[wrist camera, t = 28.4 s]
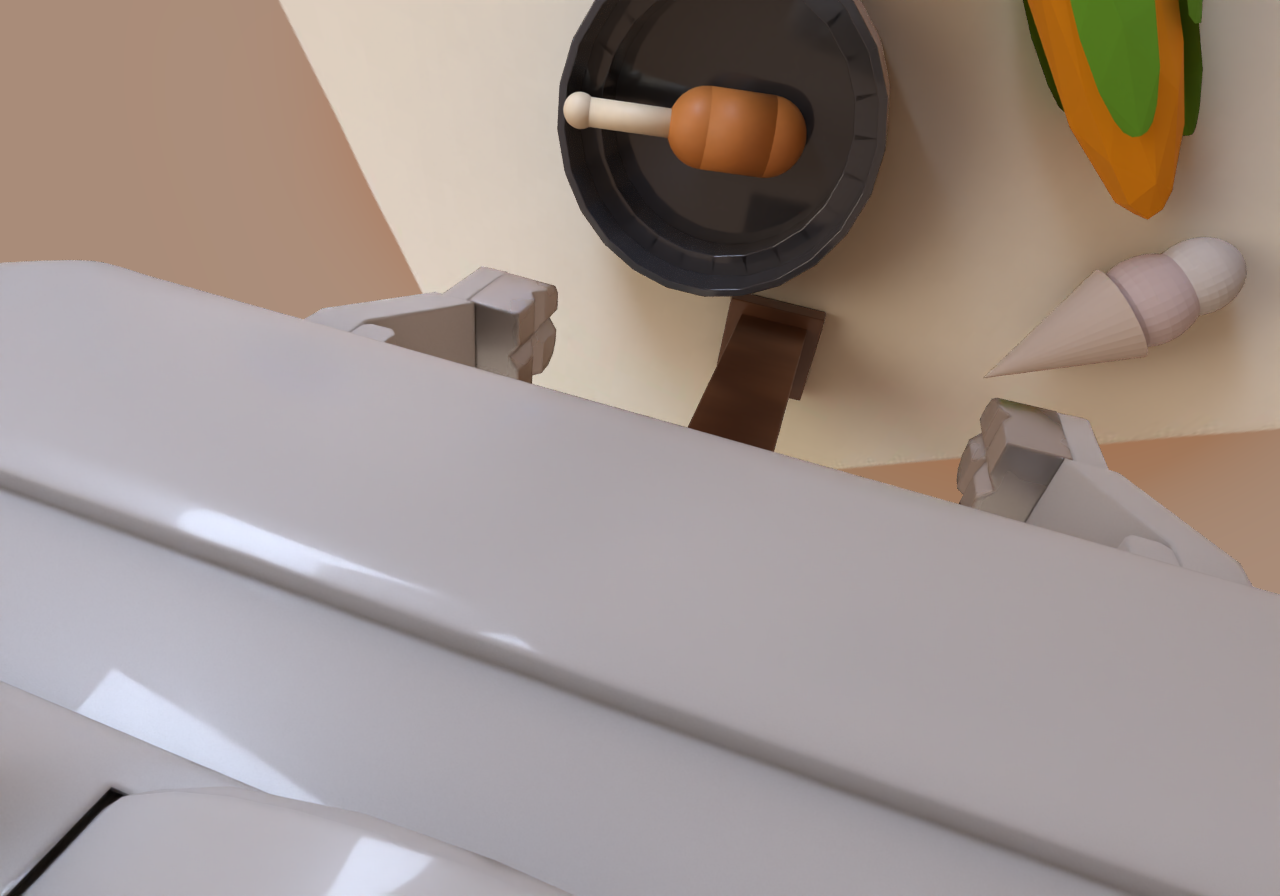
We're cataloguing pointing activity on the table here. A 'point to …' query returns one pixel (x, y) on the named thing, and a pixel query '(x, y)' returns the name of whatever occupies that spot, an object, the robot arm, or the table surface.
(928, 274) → the table surface
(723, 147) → the drumstick
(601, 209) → the bowl
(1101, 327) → the ice cream cone
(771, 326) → the stand
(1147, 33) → the corn
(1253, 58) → the table surface
